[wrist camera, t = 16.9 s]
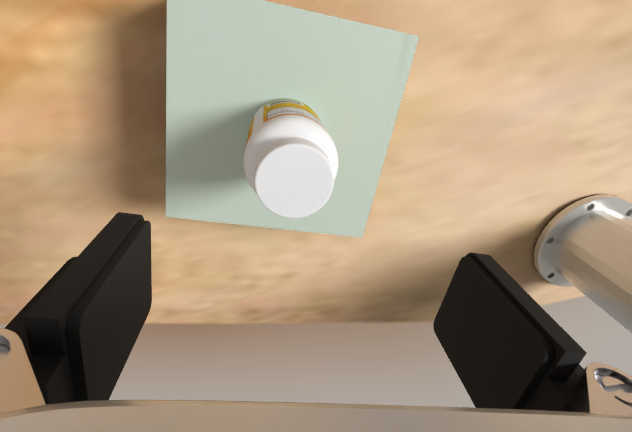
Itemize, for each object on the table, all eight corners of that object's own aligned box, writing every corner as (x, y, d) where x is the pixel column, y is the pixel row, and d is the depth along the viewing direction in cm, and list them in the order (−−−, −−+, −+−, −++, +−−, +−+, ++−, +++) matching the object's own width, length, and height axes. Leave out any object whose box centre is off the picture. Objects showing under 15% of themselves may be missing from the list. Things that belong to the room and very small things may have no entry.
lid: (399, 36, 28) (419, 36, 24) (352, 217, 34) (362, 237, 31) (181, -14, 24) (166, -22, 21) (177, 196, 31) (165, 216, 28)
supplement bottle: (285, 183, 28) (293, 249, 19) (233, 133, 25) (215, 183, 17) (336, 136, 26) (370, 184, 18) (287, 79, 24) (297, 103, 16)
